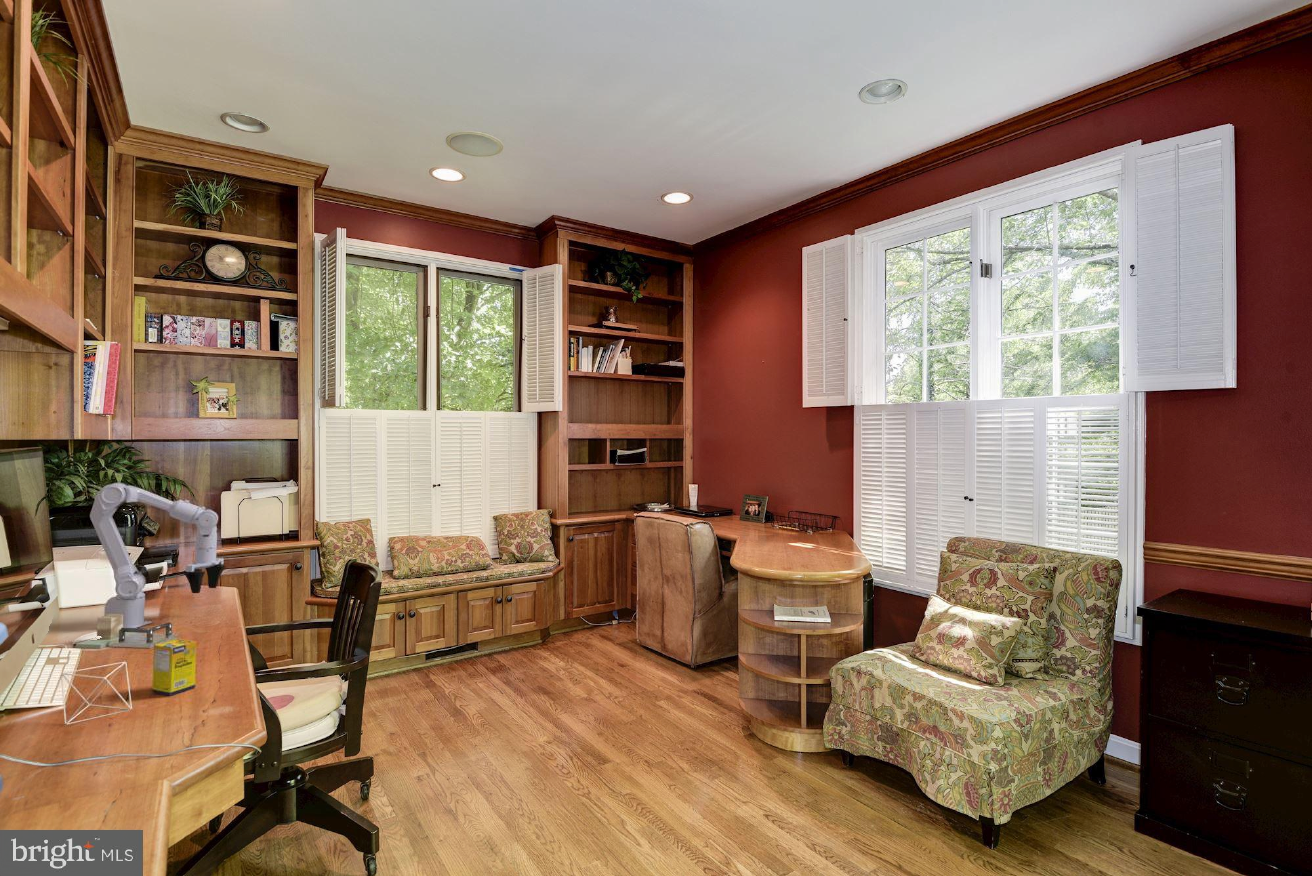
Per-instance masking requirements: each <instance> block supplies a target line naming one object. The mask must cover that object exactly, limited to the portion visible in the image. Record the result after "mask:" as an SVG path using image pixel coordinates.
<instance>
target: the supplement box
mask: <svg viewBox="0 0 1312 876" xmlns="http://www.w3.org/2000/svg"><path fill="white" fill-rule="evenodd" d="M197 642H198V641H197V640H196V641H194V640H188V639H184V638H183V639H182V638H177V639H174V640H171V641H168V642H164V643H160V644H156V645H154V647H153V664H152V666H153V667H152V690H151V691H152V692H151V693H154V694H159V695H165V696H170V697H171V696H174V695H177V693H178V694H180V693H183V692H186V691H189V689H190V690H192V689H195V687H196V673H197V672H196V669H197V668H196V665H197V664H196V663H197Z"/></svg>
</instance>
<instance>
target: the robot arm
mask: <svg viewBox="0 0 1312 876" xmlns="http://www.w3.org/2000/svg"><path fill="white" fill-rule="evenodd" d="M137 502H140V503H142V504H146V505H149V506H152V507H155V508H158V509H161V510H164V511H166V512H168V514H169V516H170V517H171V518H174V519H177V520H179V521H182V522H185V523H188V524H191V525H194V524H195V526H196V534H195V546H194V547H195V550H194V562H191V563H190V564H187V565H186V566H185V570H184V571H183V575H184V576H185V577H186V579H187V582H188V584H189V588H190V591H191V593H192V594H200V592H201V588H202V581H203V577H204V575H205V574H206V575H207V586H208V589H216V588H217V586H218V584H219V581H220V578H221V575H222V573H223V572H224V570H225V569H226V565H225V564H224V560H225V559H224V557H217V546H218V545H217V544H218V543H217V542H218V532H217V531H218V528H217V527H218V526H217V524H218V522H219V515H218V514H217V512H215V511H213V510H212V509H206V506H201V507H200V506H197V505H196V504H192V503H190V500H187V499H184V500H182V499H177V500H175V501H172V500H170V499H167V498H166V497H162V496H160V495H158V494H156V493H153V492H150V491H149V490H145V489H143V488H140V487H136V486H135V485H130V484H129V485H127V484H125V483H123V482H114V483H111V484H107V485H105V486H103V487H101V489H100V490H99V491H98V492H97V493H96V494H95V495H94V502H93V505H92V508H91V511H90V514H89V518H90V521H91V523H92V525H93V527H94V530H95V533H96V534H97V536H98V537H97V538H98V539H99V541H100V543H101V545H102V547H103V550H104V553H105V554H106V557H107V560H108V561H109V563H110V565H111V569H112V571H113V579H114V581H115V588H114V591H115V594H116V595H115V596H112V597H110V598H109V599H107V601H106V603H105V604H104V611H103V613H104V614H103V616H105V615H109V614H119V615H123V627H125V628H141V627H143V626H145V625H149V624H151V623H152V621H149V620H145V610H146V609H145V605H146V593H144V591H143V589H144V588H145V586H146V584H147V583H146V582H147V579H146V577H145V576H144V575H143V574H142V573H140V572H139V570H138V568H137V566H136V565H135V564H134V563H133V561H132V558H131V556H130V554H129V552H128V550H127V547H126V545H125V543H124V541H123V538H122V536H121V533H120V532H119V531H120V530H119V529H118V526H117V524H116V522H115V519H114V518H113V516H114V514H115V512H116V511H117V510H118V508H119V507H120V506H122V504H123V503H137ZM203 569H205V571H202V570H203Z"/></svg>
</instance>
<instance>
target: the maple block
mask: <svg viewBox="0 0 1312 876" xmlns="http://www.w3.org/2000/svg"><path fill="white" fill-rule="evenodd" d="M122 627H123V615H119V614H109V615H105V616H104V615H102V616H97V628H96V637H97V636H101V637H102V638H100V639H108V640H111V639H114V638H117V637H119V630H120V629H121V628H122Z"/></svg>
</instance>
